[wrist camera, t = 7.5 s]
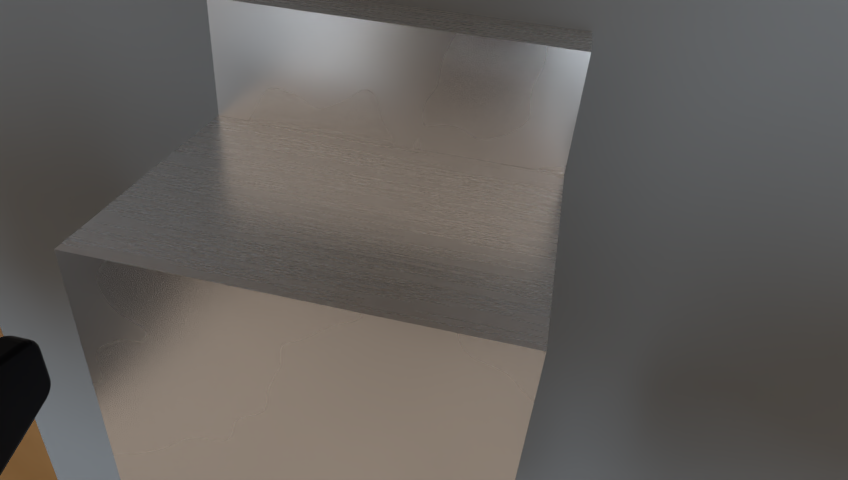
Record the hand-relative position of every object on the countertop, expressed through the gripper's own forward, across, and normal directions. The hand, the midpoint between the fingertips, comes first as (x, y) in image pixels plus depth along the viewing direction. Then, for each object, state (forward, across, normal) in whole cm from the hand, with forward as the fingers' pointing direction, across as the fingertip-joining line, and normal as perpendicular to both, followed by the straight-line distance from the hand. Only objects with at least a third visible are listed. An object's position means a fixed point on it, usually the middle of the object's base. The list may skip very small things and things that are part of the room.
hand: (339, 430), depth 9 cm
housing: (+2, 0, 0) cm, 2 cm away
